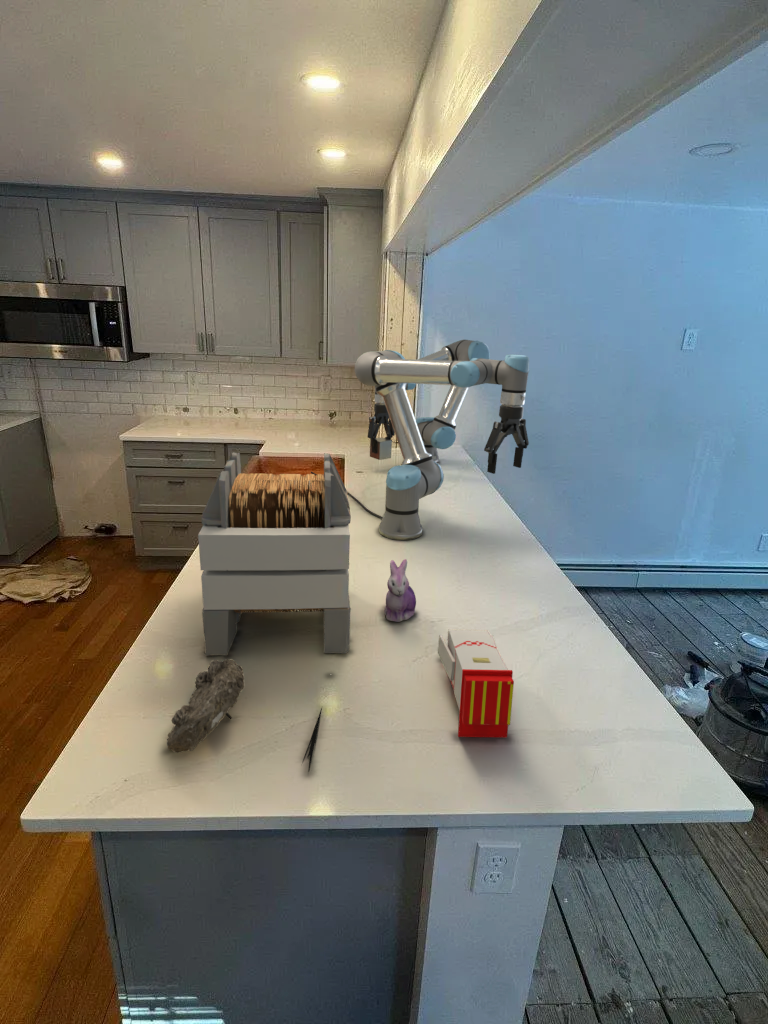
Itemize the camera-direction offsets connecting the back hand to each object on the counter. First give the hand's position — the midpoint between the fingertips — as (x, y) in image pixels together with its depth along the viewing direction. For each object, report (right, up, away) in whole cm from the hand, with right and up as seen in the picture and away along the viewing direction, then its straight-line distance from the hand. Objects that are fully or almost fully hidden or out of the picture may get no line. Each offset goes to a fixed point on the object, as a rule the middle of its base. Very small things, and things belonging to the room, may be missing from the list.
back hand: (380, 451), depth 270 cm
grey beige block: (0, -3, +1) cm, 3 cm away
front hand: (+41, -15, -83) cm, 94 cm away
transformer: (-24, -56, -127) cm, 141 cm away
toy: (+19, -66, -151) cm, 166 cm away
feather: (-11, -69, -161) cm, 176 cm away
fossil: (-31, -68, -162) cm, 178 cm away
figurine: (+6, -55, -123) cm, 135 cm away
